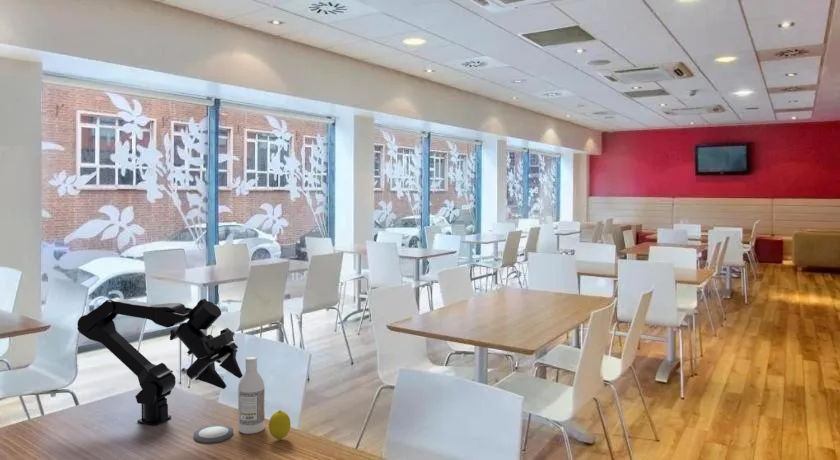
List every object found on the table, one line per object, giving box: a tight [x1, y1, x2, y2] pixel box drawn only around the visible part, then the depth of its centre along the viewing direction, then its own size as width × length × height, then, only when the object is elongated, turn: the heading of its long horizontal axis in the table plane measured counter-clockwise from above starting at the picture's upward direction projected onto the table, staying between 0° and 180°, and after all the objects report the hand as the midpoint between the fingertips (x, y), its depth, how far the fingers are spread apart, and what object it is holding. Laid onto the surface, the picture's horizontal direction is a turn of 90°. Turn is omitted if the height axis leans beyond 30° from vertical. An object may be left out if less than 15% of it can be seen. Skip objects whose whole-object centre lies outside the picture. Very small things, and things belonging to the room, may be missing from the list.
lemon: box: [268, 409, 291, 441], centre depth 159 cm, size 6×6×8 cm
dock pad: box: [193, 424, 234, 444], centre depth 161 cm, size 10×10×1 cm
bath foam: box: [237, 356, 266, 435], centre depth 165 cm, size 7×7×20 cm
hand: (233, 382), depth 165 cm, fingers open, 9 cm apart
